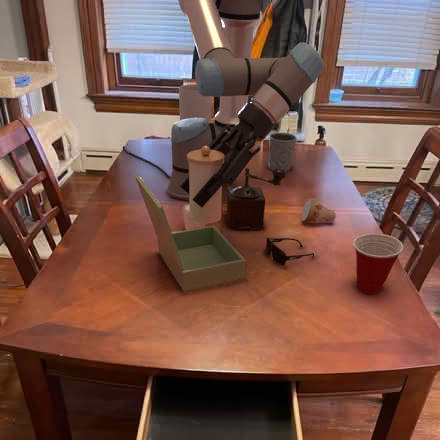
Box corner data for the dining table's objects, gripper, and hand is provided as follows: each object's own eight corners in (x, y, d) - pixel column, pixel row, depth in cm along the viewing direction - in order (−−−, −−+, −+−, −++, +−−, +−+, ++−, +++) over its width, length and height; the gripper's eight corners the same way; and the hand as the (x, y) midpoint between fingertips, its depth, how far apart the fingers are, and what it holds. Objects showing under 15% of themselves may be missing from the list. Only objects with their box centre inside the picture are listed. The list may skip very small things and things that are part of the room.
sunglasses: (259, 250, 123) (262, 233, 121) (296, 248, 128) (300, 231, 125) (278, 270, 115) (282, 252, 113) (317, 266, 120) (322, 249, 118)
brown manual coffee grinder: (228, 231, 133) (230, 170, 122) (225, 214, 142) (227, 156, 131) (281, 230, 134) (288, 170, 123) (275, 214, 143) (281, 157, 132)
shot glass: (189, 237, 129) (188, 214, 125) (179, 227, 134) (178, 205, 130) (211, 232, 132) (211, 210, 128) (200, 223, 137) (200, 201, 133)
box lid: (137, 174, 107) (134, 175, 107) (162, 206, 92) (159, 208, 92) (158, 232, 117) (156, 233, 117) (184, 270, 102) (181, 271, 102)
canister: (181, 216, 104) (179, 145, 95) (206, 206, 109) (206, 138, 100) (204, 227, 100) (205, 154, 91) (229, 216, 104) (232, 146, 95)
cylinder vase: (177, 156, 187) (175, 90, 172) (184, 147, 197) (183, 83, 183) (207, 158, 185) (208, 92, 171) (213, 149, 195) (214, 85, 181)
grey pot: (275, 161, 184) (278, 131, 177) (297, 167, 179) (301, 135, 172) (261, 168, 177) (264, 136, 170) (285, 174, 172) (288, 142, 165)
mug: (339, 228, 136) (329, 203, 130) (308, 238, 140) (296, 214, 134) (337, 212, 141) (327, 187, 135) (306, 222, 145) (295, 198, 138)
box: (213, 244, 126) (214, 225, 123) (244, 280, 111) (246, 260, 108) (158, 254, 121) (157, 234, 117) (183, 294, 106) (183, 272, 103)
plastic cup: (338, 275, 114) (347, 232, 107) (381, 274, 115) (392, 231, 108) (352, 301, 105) (363, 255, 98) (398, 299, 106) (411, 254, 99)
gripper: (296, 138, 91) (219, 225, 95) (251, 114, 107) (186, 190, 110) (275, 112, 87) (195, 204, 90) (231, 91, 102) (164, 171, 106)
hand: (190, 196), depth 100 cm, fingers closed on canister, 7 cm apart
